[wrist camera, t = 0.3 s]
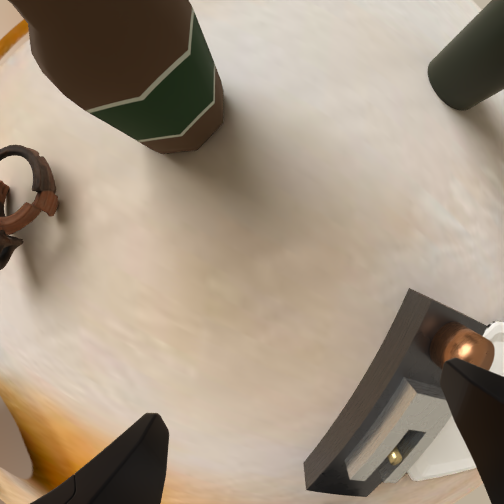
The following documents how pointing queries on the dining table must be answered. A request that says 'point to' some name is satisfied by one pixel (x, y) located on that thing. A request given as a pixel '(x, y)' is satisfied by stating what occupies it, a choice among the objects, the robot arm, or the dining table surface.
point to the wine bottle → (472, 61)
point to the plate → (456, 429)
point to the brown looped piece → (45, 200)
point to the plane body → (395, 384)
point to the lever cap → (400, 431)
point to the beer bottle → (131, 66)
